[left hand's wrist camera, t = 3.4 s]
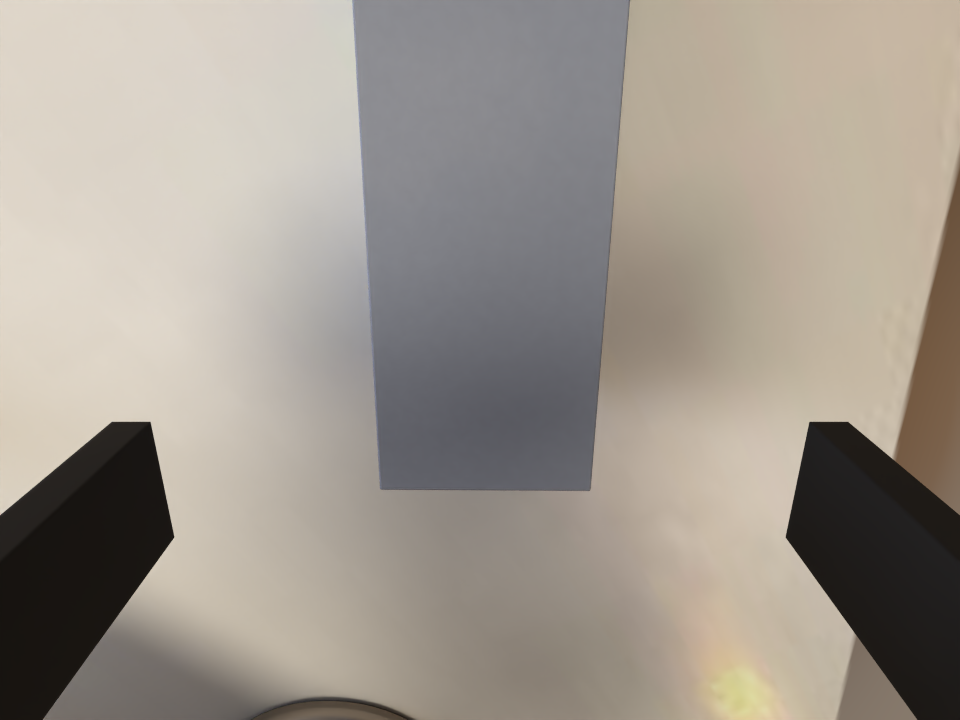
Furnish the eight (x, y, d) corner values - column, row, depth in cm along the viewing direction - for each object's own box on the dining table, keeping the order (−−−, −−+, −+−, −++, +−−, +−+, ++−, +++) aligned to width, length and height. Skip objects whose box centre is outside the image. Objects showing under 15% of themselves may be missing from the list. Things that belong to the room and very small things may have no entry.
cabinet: (397, -89, 23) (338, -235, 13) (578, -87, 23) (648, -232, 13) (412, 366, 29) (380, 490, 20) (554, 367, 29) (590, 491, 20)
